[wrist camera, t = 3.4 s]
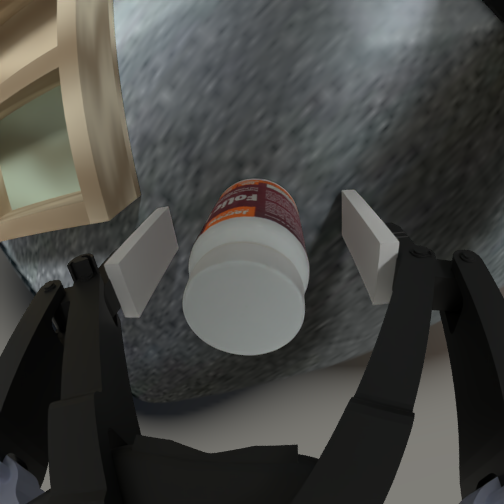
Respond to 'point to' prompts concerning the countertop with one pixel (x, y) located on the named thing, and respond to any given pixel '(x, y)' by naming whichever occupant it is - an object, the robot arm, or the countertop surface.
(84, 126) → the divided wooden tray
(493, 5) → the coffee jar
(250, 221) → the pill bottle
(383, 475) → the robot arm
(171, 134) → the countertop surface
